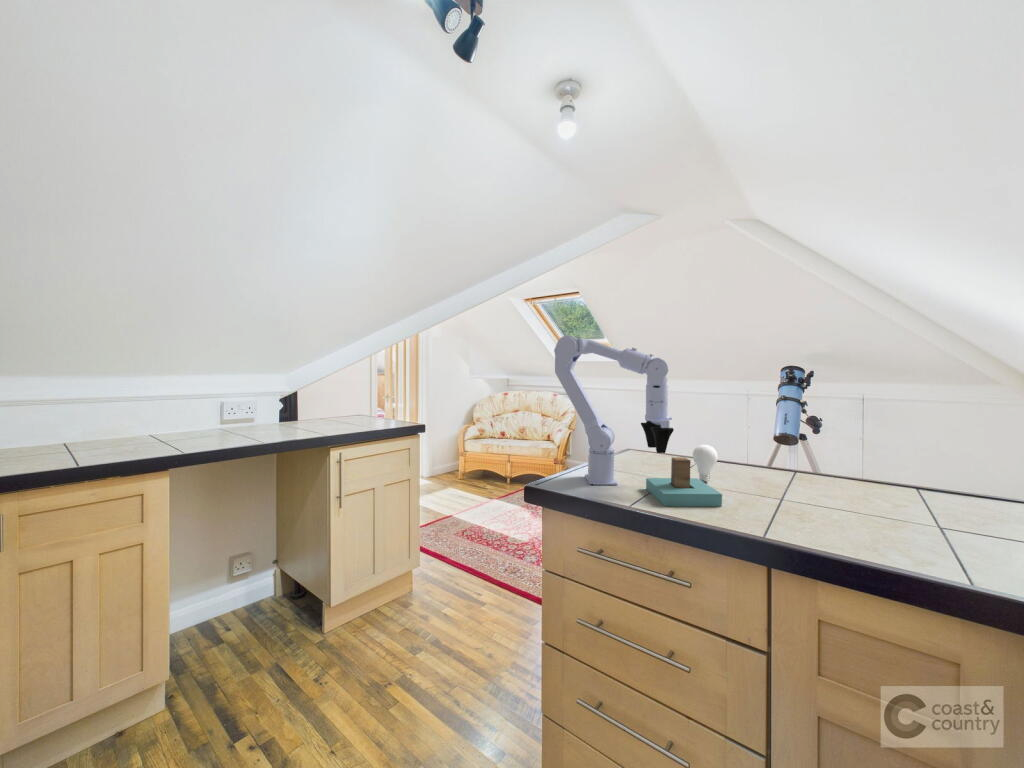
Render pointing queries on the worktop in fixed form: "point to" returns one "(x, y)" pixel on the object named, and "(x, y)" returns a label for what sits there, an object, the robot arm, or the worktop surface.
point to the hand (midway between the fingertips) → (656, 450)
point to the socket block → (683, 493)
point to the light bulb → (705, 460)
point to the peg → (680, 472)
